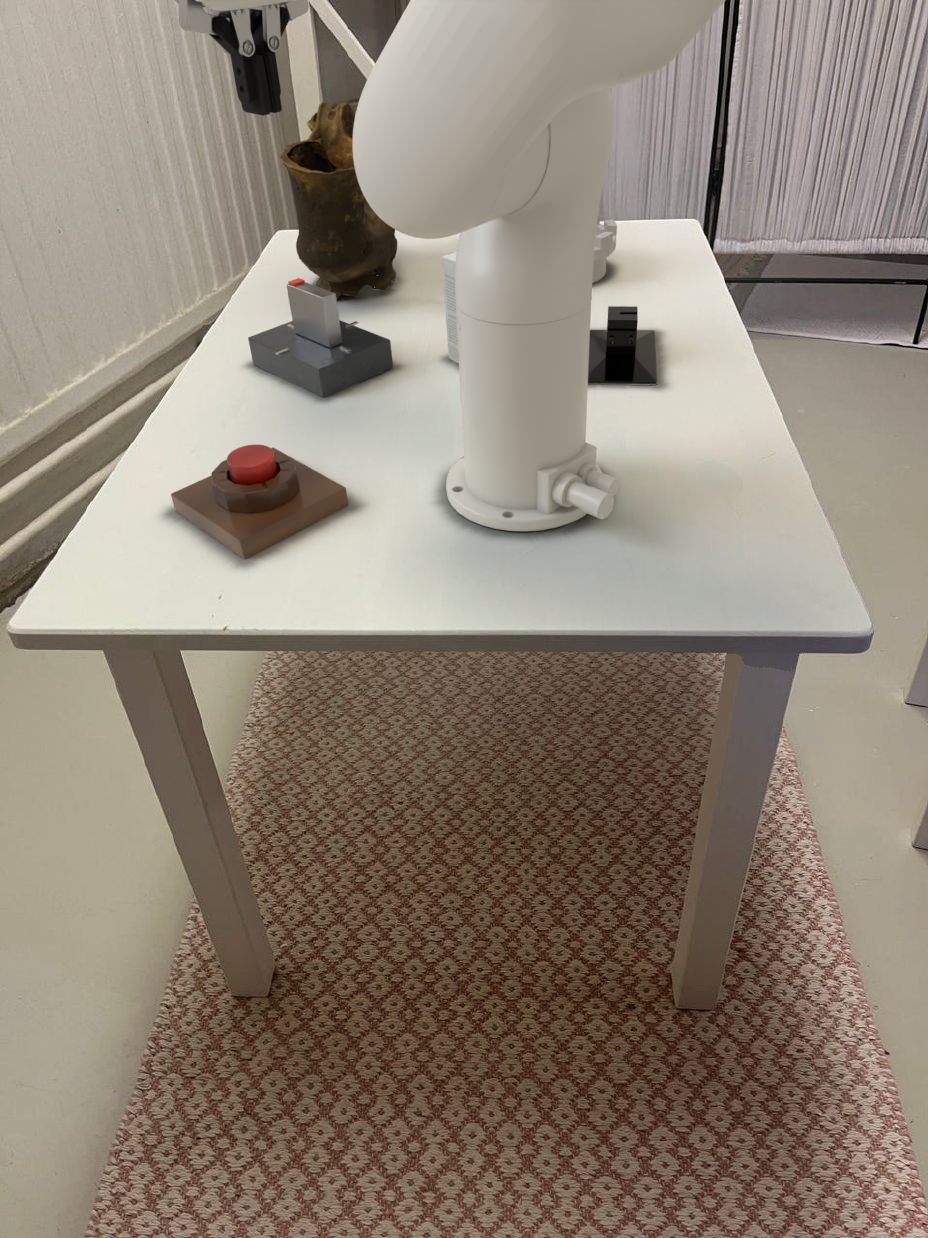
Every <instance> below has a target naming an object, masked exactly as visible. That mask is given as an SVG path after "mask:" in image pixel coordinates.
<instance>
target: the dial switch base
mask: <svg viewBox="0 0 928 1238" xmlns="http://www.w3.org/2000/svg"><path fill="white" fill-rule="evenodd" d="M339 322H340V329H341V337H342V343H341V344H339V345H336V346H334V347H331V348H329V347H327V346H324V345H322V344H320V343H317V342H315V341H313V340H311V339H308V338H306V337H304V336H301V335H299V334H297V333H295V332H294V326H293V320H291V321H288V322H286V323H283V324H280V325H278V326H275V327H272V328H269V329H267V330H265V331H262V332H259V333H256V334H253V335H250V336H249V337H247V338H248V339H247V340H248V345H249V348H250V354H251V360H252V364H253V365H254V367H257V368H259V369H261V370H264V372H265V371H266V372H268V373H269V374H272V375H274V376H276V377H279V378H280V379H283V380H285V381H287V382H288V383H290V384H293V385H295V386H297V387H300V388H301V389H304V390H306V391H308V392H310V393H312V394H314V395H316V396H319V397H320V398H323V399H324V398H328V397H329V396H331V395H333V394H336V393H339V392H340V391H342V390H345V389H348V388H350V387H351V386H354V385H357V384H359V383H362V382H364V381H367V380H368V379H371V378H373V377H376V376H378V375H380V374H382V373H384V372H387V371H389V370H391V369H393V368H394V362H393V353H392V343H391V339H389V338H386V337H384V336H381V335H379V334H376V333H374V332H372V331H370V330H369V331H368V330H366V329H364V328H361V327H359V326H356V325H358V324H359V321H353V322H350V323H348V322H346V321H343V320H341V319H339Z"/></svg>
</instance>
